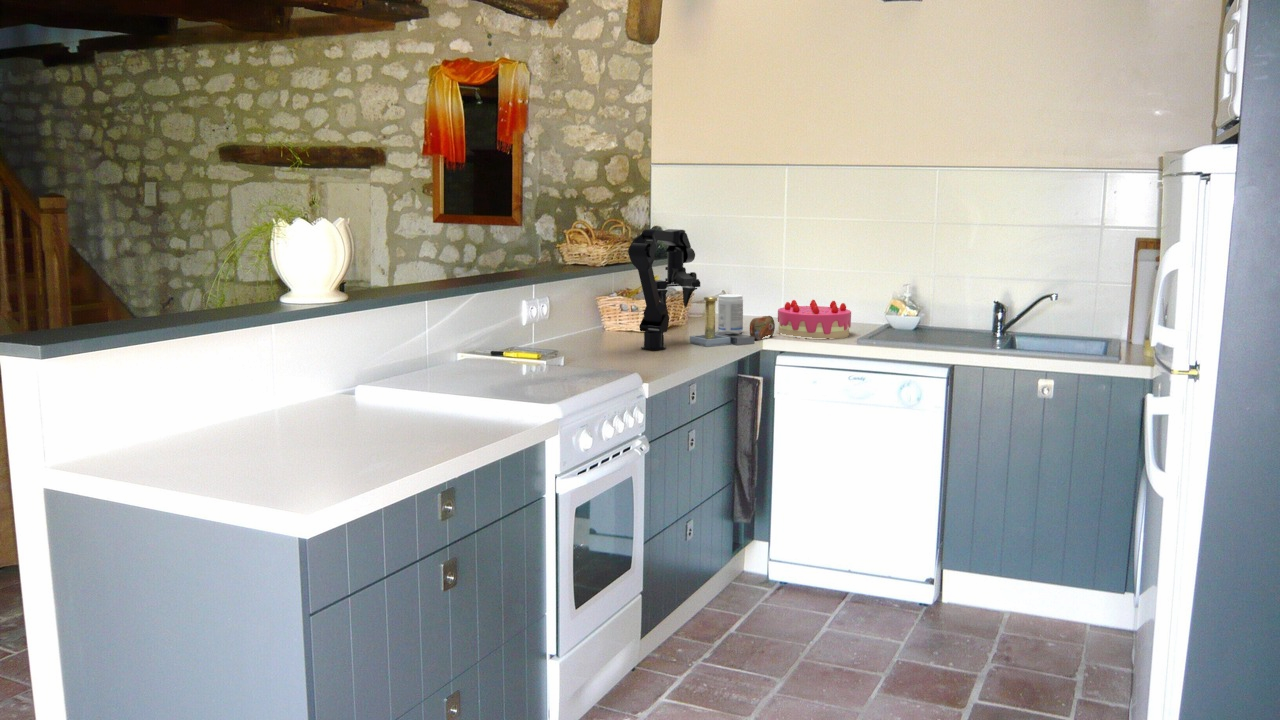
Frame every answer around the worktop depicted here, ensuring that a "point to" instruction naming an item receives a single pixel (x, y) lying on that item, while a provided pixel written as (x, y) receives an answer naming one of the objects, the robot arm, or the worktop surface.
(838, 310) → the cake
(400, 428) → the worktop surface
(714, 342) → the tray
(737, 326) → the supplement tub
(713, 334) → the pin
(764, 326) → the tin
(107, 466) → the worktop surface
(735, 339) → the hitch plate
